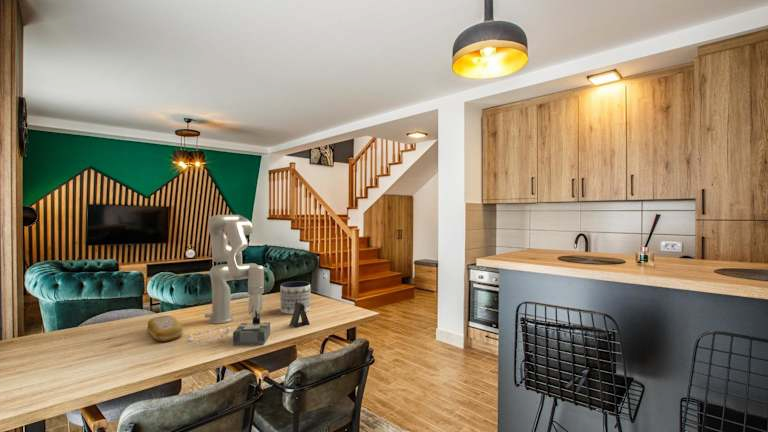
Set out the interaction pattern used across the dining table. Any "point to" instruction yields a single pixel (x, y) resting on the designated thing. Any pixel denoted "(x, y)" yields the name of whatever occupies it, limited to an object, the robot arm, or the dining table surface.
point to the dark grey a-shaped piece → (297, 312)
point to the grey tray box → (252, 326)
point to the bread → (164, 328)
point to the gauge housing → (251, 336)
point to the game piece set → (208, 331)
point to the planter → (294, 296)
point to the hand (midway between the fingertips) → (256, 326)
